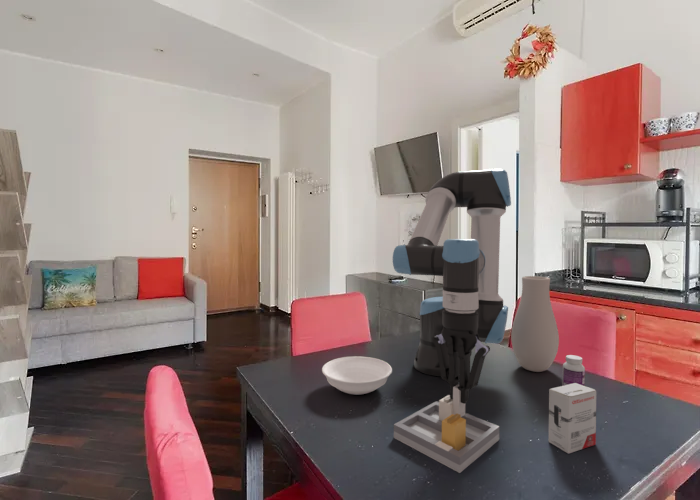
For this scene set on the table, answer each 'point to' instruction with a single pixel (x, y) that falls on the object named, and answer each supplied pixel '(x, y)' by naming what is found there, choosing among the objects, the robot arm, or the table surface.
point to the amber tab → (454, 431)
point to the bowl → (357, 374)
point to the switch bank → (427, 437)
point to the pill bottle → (573, 371)
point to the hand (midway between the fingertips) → (459, 414)
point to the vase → (535, 326)
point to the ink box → (572, 417)
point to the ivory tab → (445, 407)
